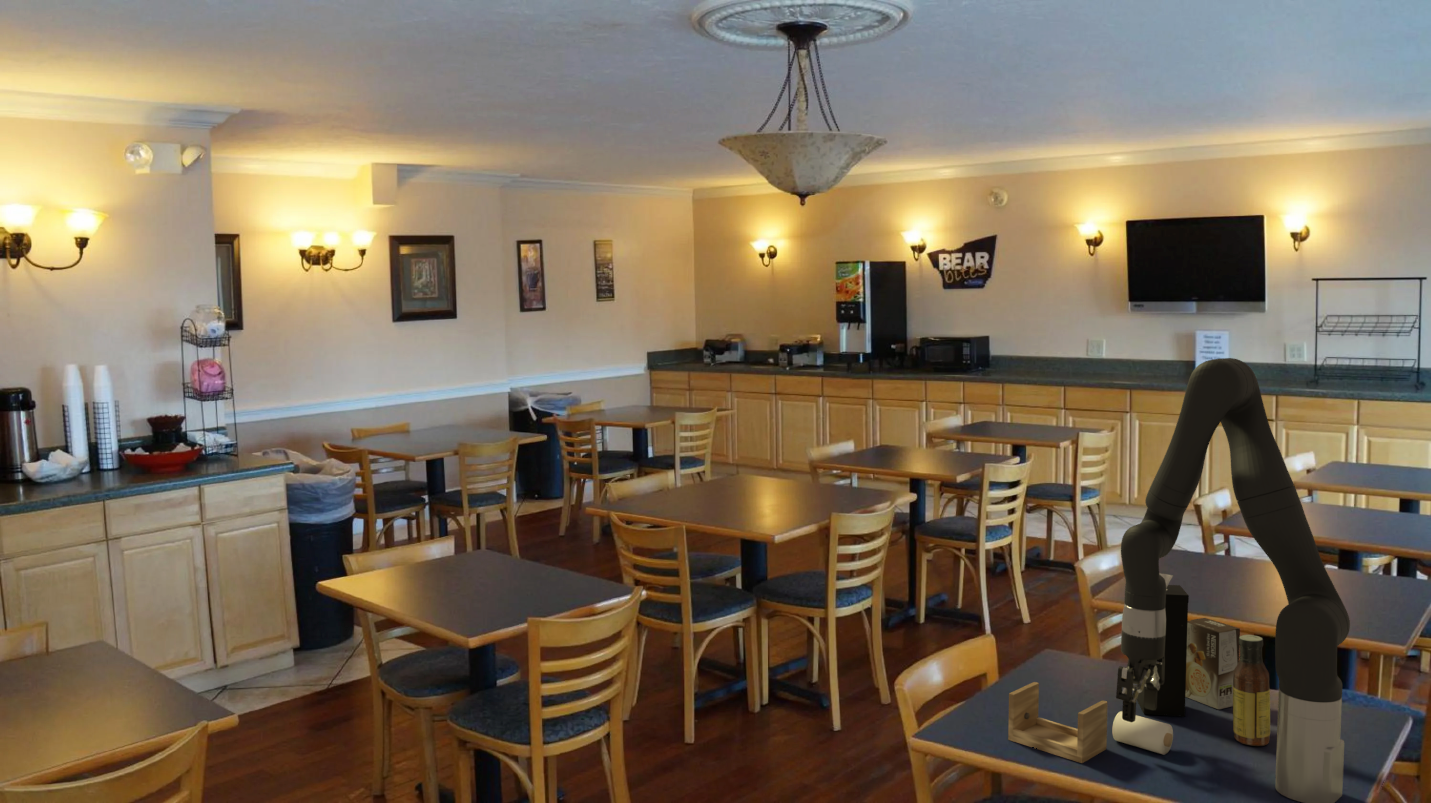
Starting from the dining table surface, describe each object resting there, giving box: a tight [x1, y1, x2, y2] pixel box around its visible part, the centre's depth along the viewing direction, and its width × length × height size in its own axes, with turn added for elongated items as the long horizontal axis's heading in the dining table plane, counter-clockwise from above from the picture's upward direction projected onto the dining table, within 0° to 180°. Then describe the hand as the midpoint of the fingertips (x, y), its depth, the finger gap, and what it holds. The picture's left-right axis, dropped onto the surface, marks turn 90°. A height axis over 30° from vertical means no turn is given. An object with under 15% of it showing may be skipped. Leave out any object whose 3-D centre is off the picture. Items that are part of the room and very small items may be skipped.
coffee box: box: [1185, 617, 1241, 710], centre depth 225 cm, size 9×6×16 cm
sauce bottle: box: [1232, 634, 1271, 747], centre depth 204 cm, size 7×6×20 cm
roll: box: [1112, 710, 1174, 756], centre depth 202 cm, size 10×6×6 cm, turn 43°
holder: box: [1007, 681, 1109, 764], centre depth 203 cm, size 15×9×9 cm, turn 43°
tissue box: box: [1136, 572, 1190, 717], centre depth 220 cm, size 8×8×28 cm
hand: (1139, 714), depth 202 cm, fingers open, 8 cm apart
